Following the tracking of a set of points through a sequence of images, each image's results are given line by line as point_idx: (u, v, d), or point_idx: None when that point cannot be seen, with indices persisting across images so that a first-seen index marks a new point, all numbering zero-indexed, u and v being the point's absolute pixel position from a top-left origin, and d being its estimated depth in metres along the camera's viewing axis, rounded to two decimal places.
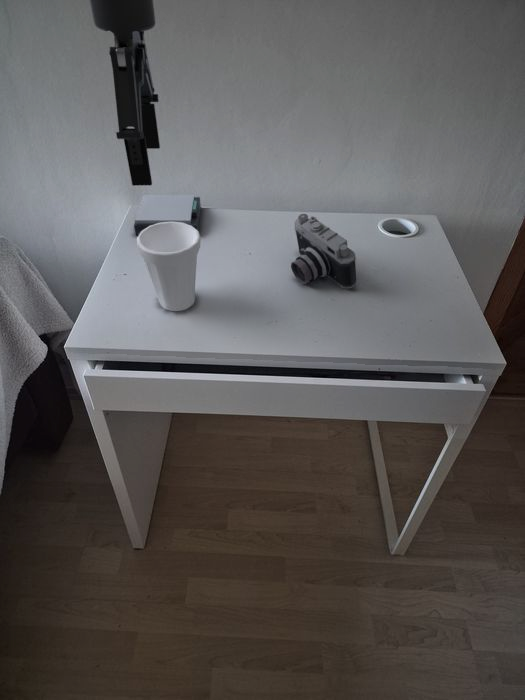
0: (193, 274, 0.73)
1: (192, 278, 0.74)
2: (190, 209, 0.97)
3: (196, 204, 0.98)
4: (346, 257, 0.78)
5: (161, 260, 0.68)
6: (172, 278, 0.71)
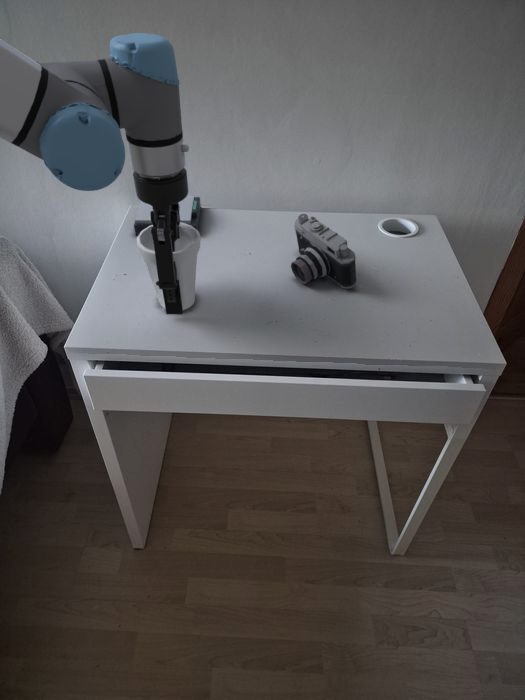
0: (193, 274, 0.73)
1: (192, 278, 0.74)
2: (190, 209, 0.97)
3: (196, 204, 0.98)
4: (346, 257, 0.78)
5: None
6: None
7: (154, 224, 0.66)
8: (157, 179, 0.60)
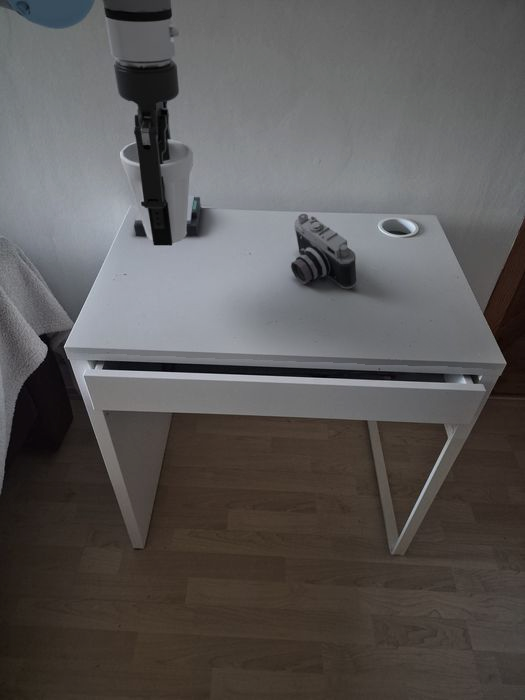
0: (184, 198, 0.64)
1: (183, 203, 0.65)
2: (190, 209, 0.97)
3: (196, 204, 0.98)
4: (346, 257, 0.78)
5: None
6: None
7: None
8: (141, 67, 0.52)
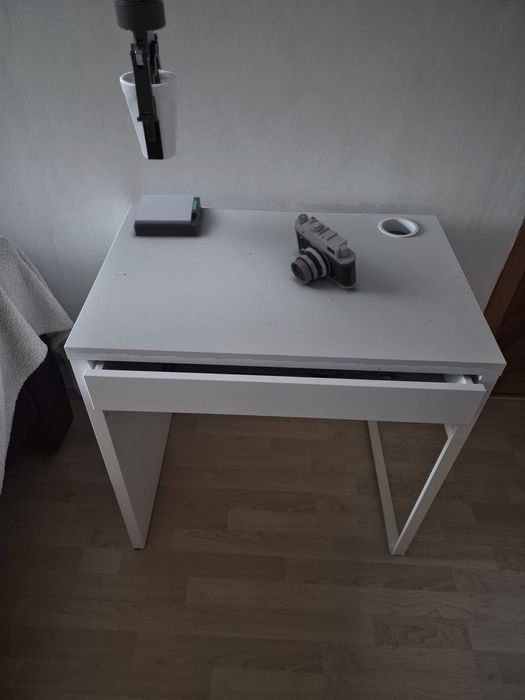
0: (173, 118, 0.78)
1: (172, 123, 0.79)
2: (190, 209, 0.97)
3: (196, 204, 0.98)
4: (346, 257, 0.78)
5: None
6: None
7: None
8: (135, 0, 0.65)
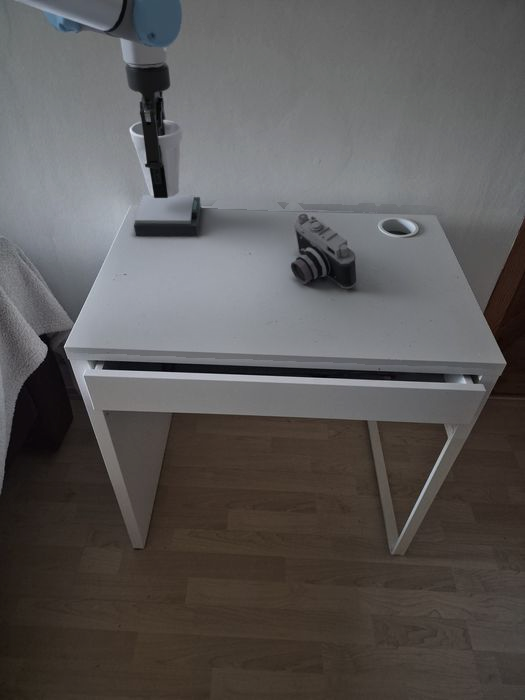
0: (176, 162, 0.89)
1: (175, 166, 0.89)
2: (190, 209, 0.97)
3: (196, 204, 0.98)
4: (346, 257, 0.78)
5: None
6: None
7: None
8: (144, 68, 0.76)
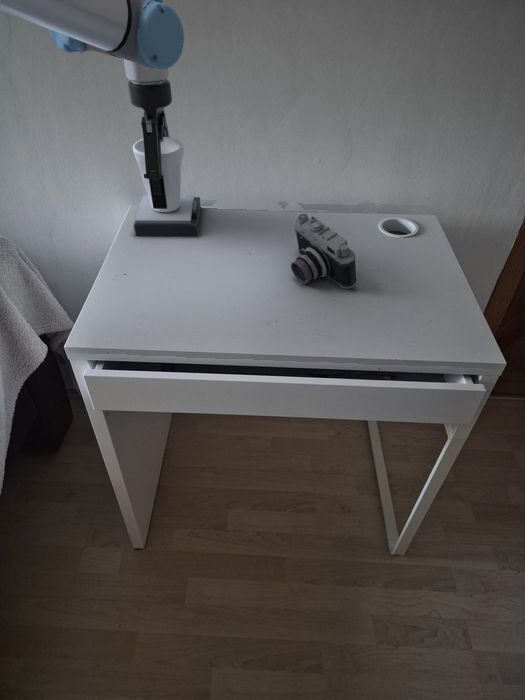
0: (178, 178, 0.91)
1: (177, 182, 0.92)
2: (190, 209, 0.97)
3: (196, 204, 0.98)
4: (346, 257, 0.78)
5: None
6: None
7: None
8: (146, 85, 0.78)
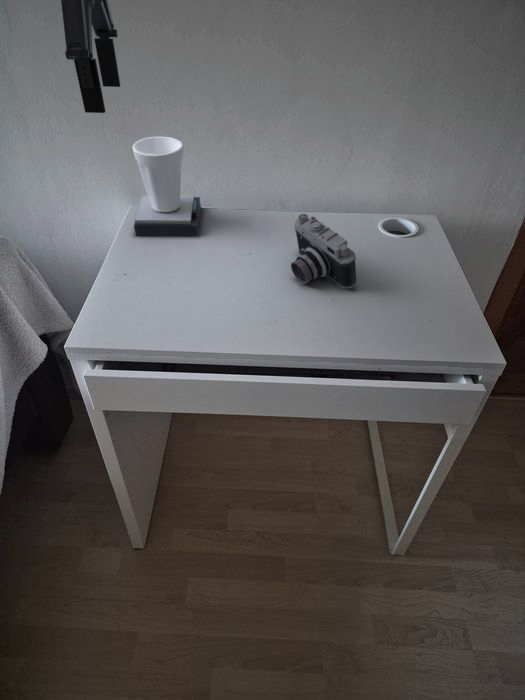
0: (178, 178, 0.91)
1: (177, 182, 0.92)
2: (190, 209, 0.97)
3: (196, 204, 0.98)
4: (346, 257, 0.78)
5: (151, 161, 0.86)
6: (160, 179, 0.89)
7: None
8: None
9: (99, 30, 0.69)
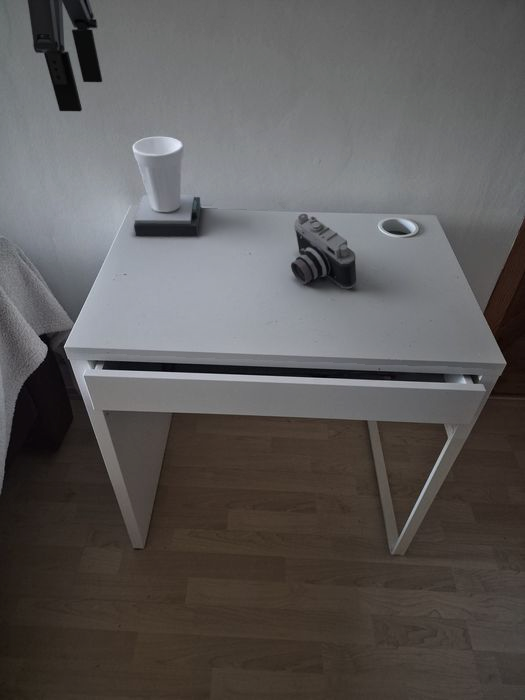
0: (178, 178, 0.91)
1: (177, 182, 0.92)
2: (190, 209, 0.97)
3: (196, 204, 0.98)
4: (346, 257, 0.78)
5: (151, 161, 0.86)
6: (160, 179, 0.89)
7: None
8: None
9: (77, 20, 0.63)
